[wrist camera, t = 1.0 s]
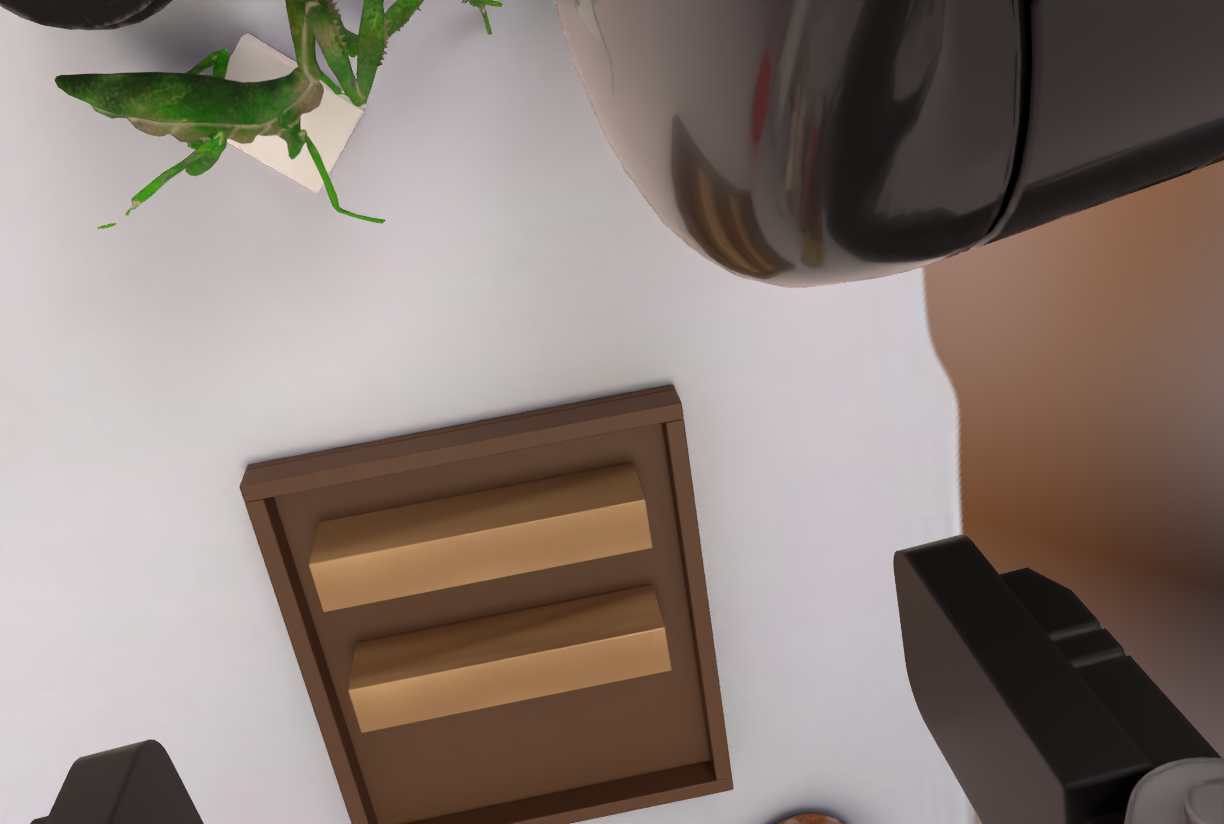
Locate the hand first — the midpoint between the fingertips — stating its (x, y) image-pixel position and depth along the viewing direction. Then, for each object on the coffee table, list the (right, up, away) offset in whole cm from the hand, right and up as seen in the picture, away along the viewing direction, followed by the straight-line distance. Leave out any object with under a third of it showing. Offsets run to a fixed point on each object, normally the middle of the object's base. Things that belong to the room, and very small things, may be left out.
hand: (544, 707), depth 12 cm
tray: (-4, -7, +40) cm, 41 cm away
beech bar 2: (-4, -7, +40) cm, 41 cm away
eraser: (-14, +14, +30) cm, 36 cm away
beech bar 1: (-5, -1, +37) cm, 38 cm away
